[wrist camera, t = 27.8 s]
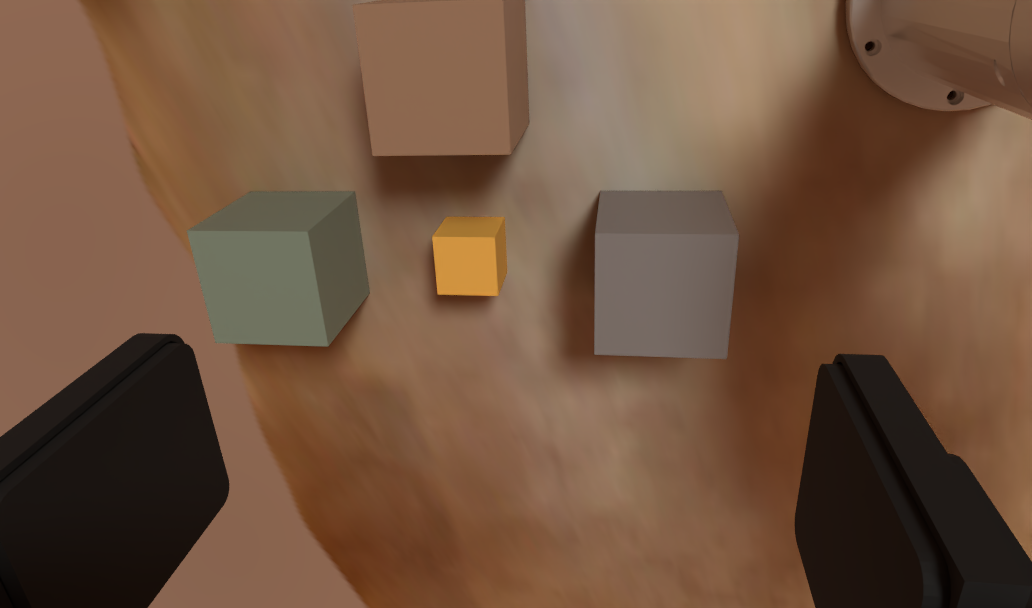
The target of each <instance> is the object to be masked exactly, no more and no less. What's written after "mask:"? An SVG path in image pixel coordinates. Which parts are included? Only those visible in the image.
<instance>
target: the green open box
mask: <svg viewBox="0 0 1032 608" xmlns="http://www.w3.org/2000/svg"><path fill="white" fill-rule="evenodd" d="M187 233H188V237H189V241H190V245H191V249H192V253H193V257H194V261H195V265H196V268H197V272H198V276H199V280H200V284H201V288H202V292H203V296H204V300H205V304H206V307H207V311H208V315H209V319H210V323H211V327H212V331H213V335H214V339H215V342H216V343H231V344H263V345H295V346H327V347H328V346H329V345H330V344H331V342H332V341H333V340H334V339H335V337H336V336H337V335H338V333H339V332H340V331H341V330H342V328H343V327H344V326H345V324H346V323H347V322H348V320H349V319H350V318H351V317H352V315H353V314H354V313H355V311H356V310H357V309H358V308H359V306H360V305H361V304H362V302H363V301H364V300H365V299H366V297H367V296H368V295H369V293H370V292H369V285H368V278H367V271H366V264H365V257H364V250H363V244H362V237H361V230H360V223H359V216H358V209H357V202H356V195H355V191H353V192H249V193H248V194H246V195H244V196H243V197H241V198H239V199H238V200H236V201H235V202H233V203H231V204H230V205H228V206H226V207H225V208H223V209H222V210H220V211H218V212H217V213H215V214H213V215H212V216H210V217H209V218H207V219H205V220H204V221H202V222H200V223H199V224H197V225H196V226H194V227H192V228H191V229H189V230H187Z"/></svg>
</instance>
